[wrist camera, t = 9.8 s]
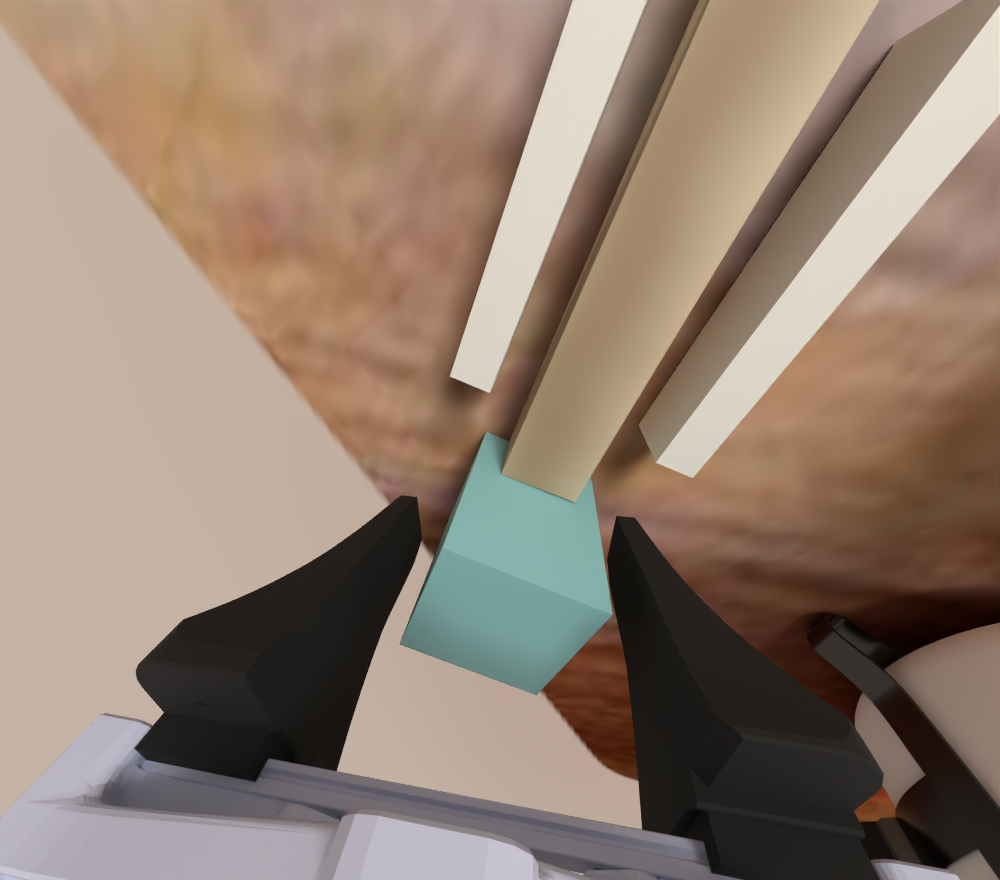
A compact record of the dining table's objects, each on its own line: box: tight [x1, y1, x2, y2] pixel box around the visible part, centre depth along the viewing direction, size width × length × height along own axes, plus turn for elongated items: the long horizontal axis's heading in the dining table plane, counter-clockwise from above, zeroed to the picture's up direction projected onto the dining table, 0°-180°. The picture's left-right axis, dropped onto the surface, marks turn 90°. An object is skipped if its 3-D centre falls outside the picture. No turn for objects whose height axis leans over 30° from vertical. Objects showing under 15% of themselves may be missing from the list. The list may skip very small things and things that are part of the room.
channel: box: [450, 0, 1000, 478], centre depth 9 cm, size 8×10×2 cm
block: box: [400, 432, 613, 695], centre depth 12 cm, size 4×4×6 cm
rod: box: [501, 0, 879, 502], centre depth 9 cm, size 3×14×3 cm, turn 160°
